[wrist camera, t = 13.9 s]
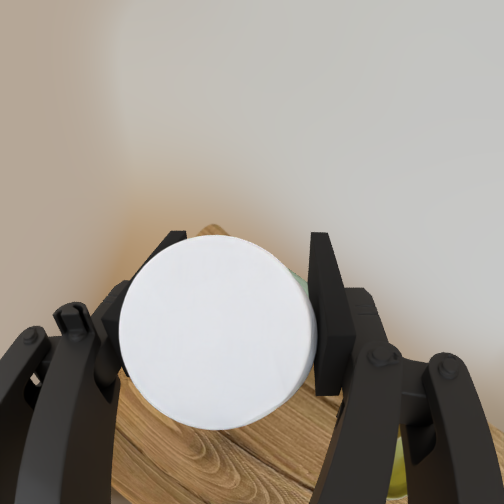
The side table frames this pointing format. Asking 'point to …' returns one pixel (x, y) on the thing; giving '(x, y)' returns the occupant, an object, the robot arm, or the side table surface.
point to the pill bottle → (217, 332)
